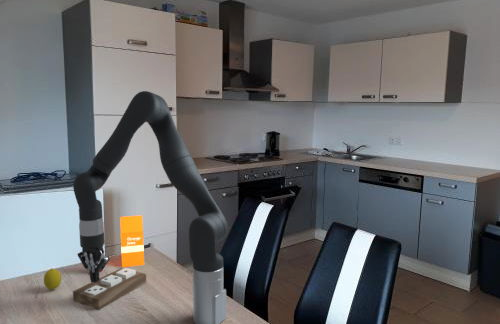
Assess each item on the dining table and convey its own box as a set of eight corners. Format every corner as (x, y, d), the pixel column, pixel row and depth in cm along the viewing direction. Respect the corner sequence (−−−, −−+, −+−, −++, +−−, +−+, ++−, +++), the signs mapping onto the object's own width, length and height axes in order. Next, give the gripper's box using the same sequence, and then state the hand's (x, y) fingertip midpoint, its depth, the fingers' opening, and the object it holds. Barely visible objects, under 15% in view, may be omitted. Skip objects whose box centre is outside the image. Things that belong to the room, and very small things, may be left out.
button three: (106, 295, 135) (106, 288, 134) (94, 302, 130) (94, 294, 130) (96, 292, 137) (95, 284, 137) (84, 298, 133) (83, 290, 132)
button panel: (146, 283, 147) (146, 274, 146) (99, 309, 128) (98, 299, 127) (122, 276, 152) (121, 267, 152) (73, 301, 133) (73, 291, 132)
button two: (122, 284, 141) (121, 277, 140) (111, 290, 136) (110, 282, 136) (111, 281, 143) (111, 274, 143) (100, 287, 139) (100, 279, 138)
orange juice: (122, 260, 168) (120, 214, 165) (143, 257, 171) (142, 212, 168) (121, 267, 161) (119, 219, 158) (144, 265, 163) (142, 217, 160)
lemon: (41, 291, 140) (39, 269, 138) (55, 285, 144) (53, 264, 143) (51, 295, 137) (49, 273, 136) (65, 288, 142) (64, 267, 141)
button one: (136, 276, 147) (135, 270, 146) (126, 282, 142) (125, 275, 142) (126, 274, 149) (125, 267, 149) (115, 279, 145) (115, 272, 144)
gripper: (115, 231, 130) (117, 281, 133) (87, 225, 136) (90, 273, 139) (97, 237, 124) (100, 290, 126) (68, 231, 130) (71, 282, 132)
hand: (94, 281), depth 132 cm, fingers closed
